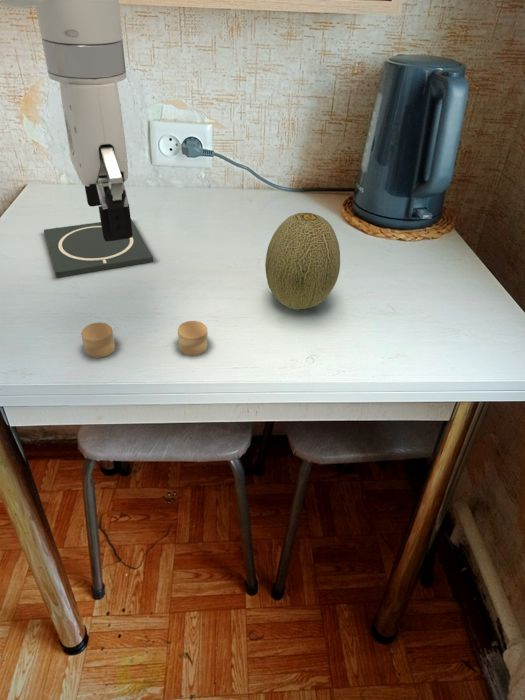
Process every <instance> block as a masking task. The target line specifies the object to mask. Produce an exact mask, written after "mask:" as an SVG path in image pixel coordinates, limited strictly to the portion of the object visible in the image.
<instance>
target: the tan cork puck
mask: <svg viewBox="0 0 525 700" xmlns="http://www.w3.org/2000/svg"><path fill="white" fill-rule="evenodd" d="M80 334H81V335H80V336H81V339H82V344H83V349H84V352H85V354H86V355H87V356H88V357H90V358H94V359H96V358H97V359H100V358H105V357H107V356H110V355H112V353H114V351H115V350H116V342H115V338H114V332H113V328H112V326H111V325H110V324H108V323H106V322H93V323H91V324H90V323H89V324H88V325H86V326H85V327H83V328H82V330H81V333H80Z"/></svg>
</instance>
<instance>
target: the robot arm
mask: <svg viewBox="0 0 525 700" xmlns="http://www.w3.org/2000/svg"><path fill="white" fill-rule="evenodd" d="M0 6H2V7H5V8H9V9H16V10H17V9H18V10H20V9H21V10H22V9H29V8H32V7H35V11H36V16H37V21H38V26H39V32H40V38H41V44H42V48H43V53H44V58H45V63H46V64H45V65H46V69H47V74H48V77H49V79H50V80H53V81H55V82H57V83H59V89H60V97H61V105H62V111H63V118H64V123H65V130H66V136H67V145H68V151H69V156H70V161H71V163H72V166H73V168H74V170H75V173H76V174H77V175H76V176H77V177H78V179H79V181H80V183H81V184H83V185H84V190H85V196H86V202H87V205H88V206H89V207H98V213H99V219H100V222H101V226H102V232H103V238H104V240H105V241H115V240H122V239H128V238H131V237H132V236H133V234H132V225H131V219H132V218H131V209H130V208H131V207H130V204H129V199H128V195H127V190H126V186H125V183H126V181H127V180H128V178H129V165H128V155H127V154H128V153H127V146H126V145H127V143H126V137H125V130H124V122H123V115H122V114H123V113H122V103H121V100H120V95H119V94H120V93H119V88H118V83H119V82H121V81H123V80H124V81H125V79H126V78H127V68H126V60H125V58H126V57H125V50H124V40H123V30H122V20H121V9H120V0H0Z"/></svg>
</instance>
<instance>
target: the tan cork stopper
mask: <svg viewBox="0 0 525 700" xmlns="http://www.w3.org/2000/svg"><path fill="white" fill-rule="evenodd" d="M177 343H178V344H177V345H178V349H179V351H180V352H181V353H182V354H184V355H186V356H199V355H202V354H203V353H205V352H206V351H207V349H208V327H207V325H206V324H205V323H203V322H201V321H199V320H188V321H184V322H182V323H181V324H180V325H178V327H177Z"/></svg>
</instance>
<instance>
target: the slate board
mask: <svg viewBox="0 0 525 700" xmlns="http://www.w3.org/2000/svg"><path fill="white" fill-rule="evenodd" d="M133 221H134V220H132V218H131V225H132V234H133V236H132V237H131V238H128V239H122V240H115V241H105V240H104V238H103V232H102V226H101V221H99V222H91V223H83V224H75V225H69V226H60V227H52V228H46V229H43V234H44V237H45V241H46V244H47V245H46V246H47V248H48V251H49V255H50V259H51V262H52V266H53V269H54V274H55V277H56V278H62V277H69V276H75V275H80V274H88V273H93V272H98V271H105V270H110V269H111V270H112V269H116V268H122V267H130V266H134V265H142V264H147V263H152V262H154V256H153V254H152V253H151V251H150V249H149V248H148V246H147V244H146V242H145V241H144V239H143V237H142V235H141V233H140V231H139V230H138V228H137V227H136V224H135V223H134V222H133Z"/></svg>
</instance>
